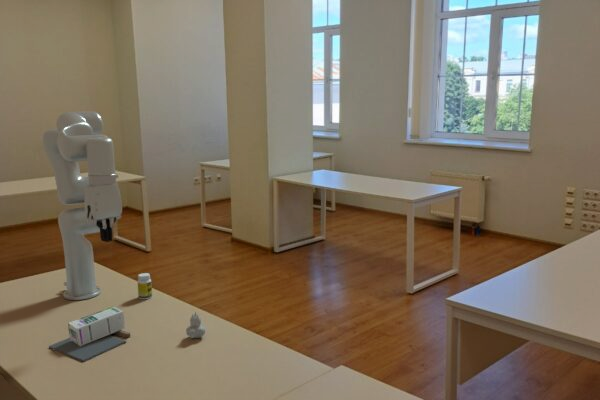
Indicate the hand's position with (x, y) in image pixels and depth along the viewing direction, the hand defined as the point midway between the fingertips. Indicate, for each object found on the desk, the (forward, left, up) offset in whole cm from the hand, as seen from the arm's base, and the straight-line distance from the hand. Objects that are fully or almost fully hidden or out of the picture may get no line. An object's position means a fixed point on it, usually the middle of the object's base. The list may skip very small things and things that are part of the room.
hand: (106, 240), depth 164 cm
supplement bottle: (-12, +23, -28) cm, 38 cm away
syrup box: (+3, 0, -24) cm, 24 cm away
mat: (+4, -12, -28) cm, 30 cm away
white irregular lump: (+27, +8, -28) cm, 40 cm away
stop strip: (+4, -2, -28) cm, 28 cm away
